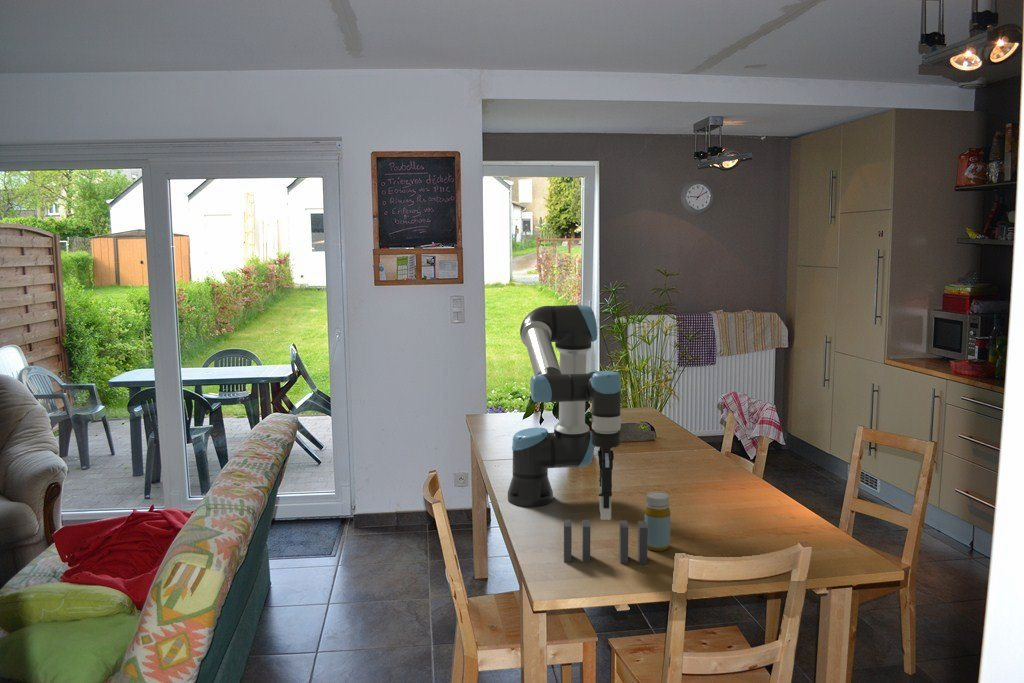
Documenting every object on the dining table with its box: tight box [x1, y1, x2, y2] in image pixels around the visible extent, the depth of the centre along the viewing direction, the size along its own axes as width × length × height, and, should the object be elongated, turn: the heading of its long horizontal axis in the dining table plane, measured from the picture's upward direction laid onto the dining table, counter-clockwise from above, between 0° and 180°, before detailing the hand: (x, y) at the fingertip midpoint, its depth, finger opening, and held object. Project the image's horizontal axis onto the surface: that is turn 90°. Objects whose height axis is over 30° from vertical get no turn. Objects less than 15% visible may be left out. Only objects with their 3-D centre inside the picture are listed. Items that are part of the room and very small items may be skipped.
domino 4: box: [618, 520, 630, 564], centre depth 205 cm, size 2×5×10 cm, turn 176°
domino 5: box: [637, 520, 648, 565], centre depth 205 cm, size 2×5×10 cm, turn 176°
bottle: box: [644, 491, 671, 552], centre depth 213 cm, size 7×7×15 cm
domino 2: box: [581, 519, 592, 564], centre depth 206 cm, size 2×5×10 cm, turn 176°
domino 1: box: [563, 519, 573, 563], centre depth 206 cm, size 2×5×10 cm, turn 177°
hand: (605, 515), depth 205 cm, fingers closed on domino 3, 5 cm apart
